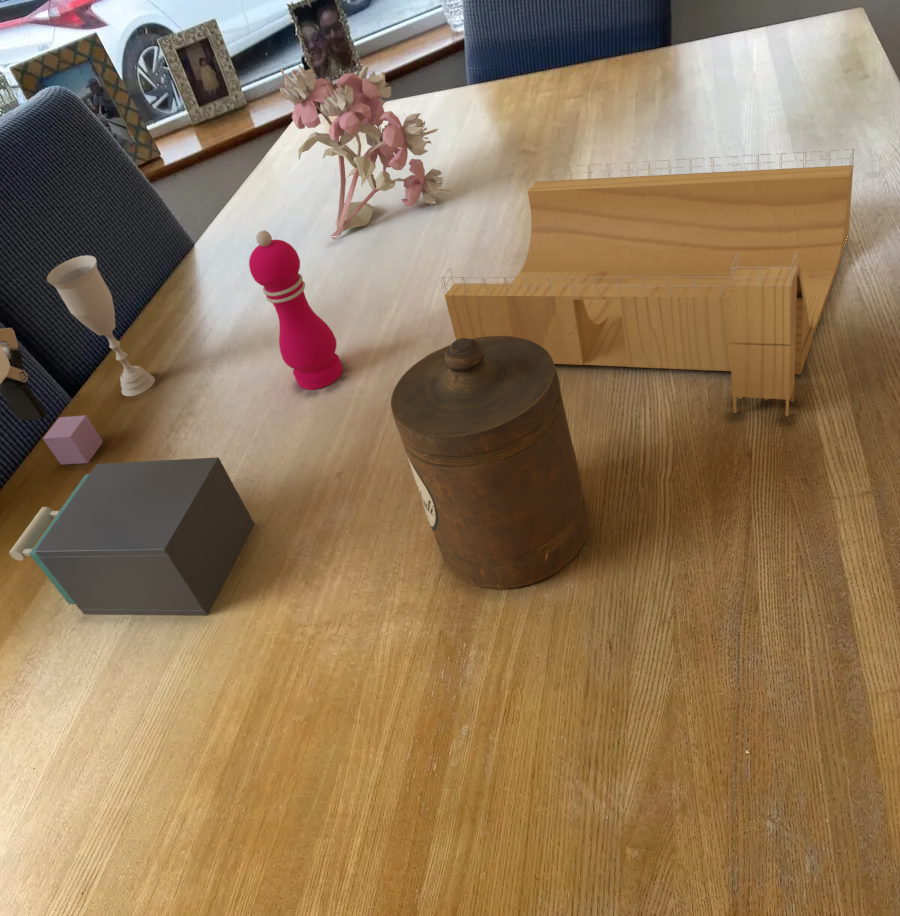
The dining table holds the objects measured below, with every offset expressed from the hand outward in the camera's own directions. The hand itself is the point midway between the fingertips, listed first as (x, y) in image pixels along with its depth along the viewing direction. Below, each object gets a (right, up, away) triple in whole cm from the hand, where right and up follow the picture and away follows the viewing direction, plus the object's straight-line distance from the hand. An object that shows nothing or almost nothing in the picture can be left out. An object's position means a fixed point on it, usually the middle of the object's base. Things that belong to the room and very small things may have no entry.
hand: (10, 447), depth 95 cm
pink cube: (-4, +4, +30) cm, 30 cm away
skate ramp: (+68, +19, +19) cm, 73 cm away
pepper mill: (+27, +14, +28) cm, 42 cm away
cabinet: (+14, -12, +8) cm, 20 cm away
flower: (+36, +47, +57) cm, 83 cm away
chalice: (0, +15, +39) cm, 42 cm away
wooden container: (+51, -9, -2) cm, 52 cm away
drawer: (+8, -11, +9) cm, 17 cm away
